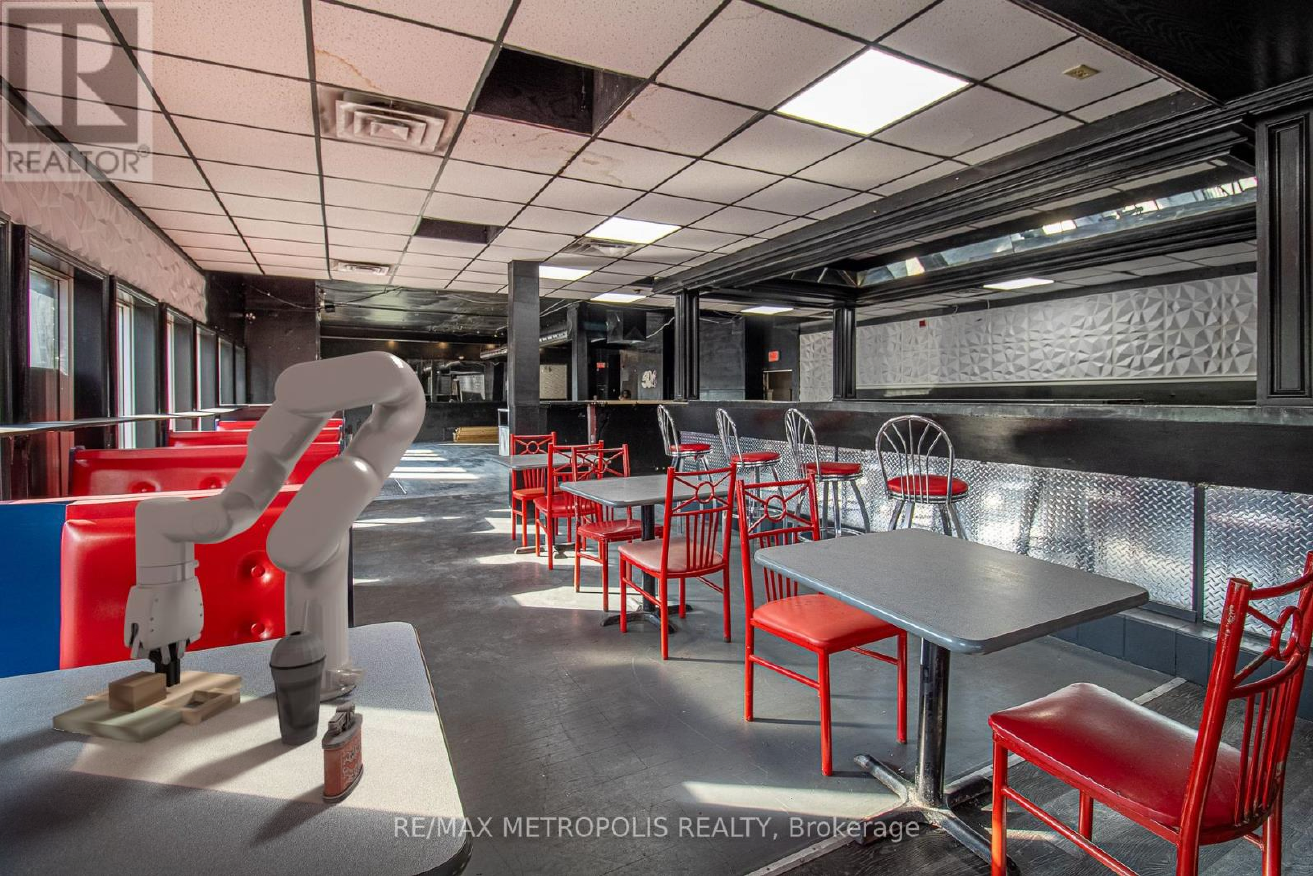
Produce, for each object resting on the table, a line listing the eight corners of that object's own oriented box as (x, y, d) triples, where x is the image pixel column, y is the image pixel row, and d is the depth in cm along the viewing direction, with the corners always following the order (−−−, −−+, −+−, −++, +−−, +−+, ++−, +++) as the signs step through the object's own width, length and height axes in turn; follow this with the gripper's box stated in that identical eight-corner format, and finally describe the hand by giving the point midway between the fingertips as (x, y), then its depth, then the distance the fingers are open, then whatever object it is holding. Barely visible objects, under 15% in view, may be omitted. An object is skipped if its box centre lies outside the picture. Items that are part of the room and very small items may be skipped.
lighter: (342, 769, 85) (341, 694, 85) (369, 768, 85) (367, 693, 85) (316, 805, 77) (314, 723, 77) (345, 804, 77) (343, 722, 77)
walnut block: (166, 698, 102) (165, 674, 102) (134, 712, 97) (133, 686, 97) (142, 695, 103) (141, 671, 103) (109, 709, 99) (108, 683, 99)
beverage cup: (274, 731, 95) (271, 598, 95) (329, 722, 98) (327, 592, 98) (266, 755, 89) (263, 611, 88) (325, 744, 92) (323, 605, 91)
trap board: (265, 690, 110) (265, 678, 110) (155, 745, 92) (155, 731, 92) (164, 678, 115) (164, 667, 115) (40, 728, 97) (40, 715, 97)
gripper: (191, 562, 113) (193, 665, 113) (98, 583, 98) (101, 701, 99) (225, 564, 111) (227, 670, 111) (136, 586, 96) (138, 707, 97)
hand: (167, 684), depth 105 cm, fingers closed
